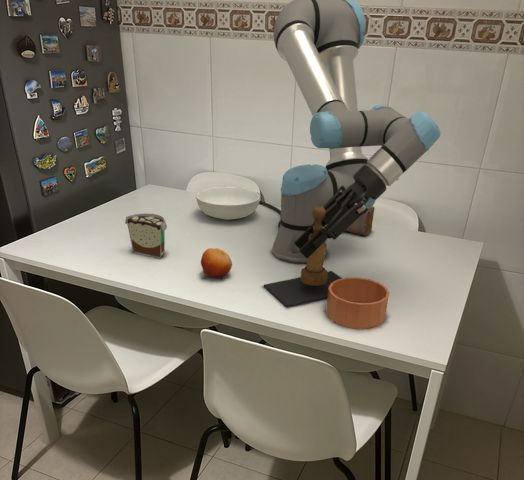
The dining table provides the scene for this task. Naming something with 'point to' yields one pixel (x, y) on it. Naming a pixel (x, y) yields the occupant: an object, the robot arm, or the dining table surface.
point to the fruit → (215, 263)
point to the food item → (362, 223)
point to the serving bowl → (228, 202)
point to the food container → (147, 234)
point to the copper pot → (353, 312)
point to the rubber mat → (300, 290)
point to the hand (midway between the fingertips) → (300, 250)
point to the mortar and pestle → (316, 255)
